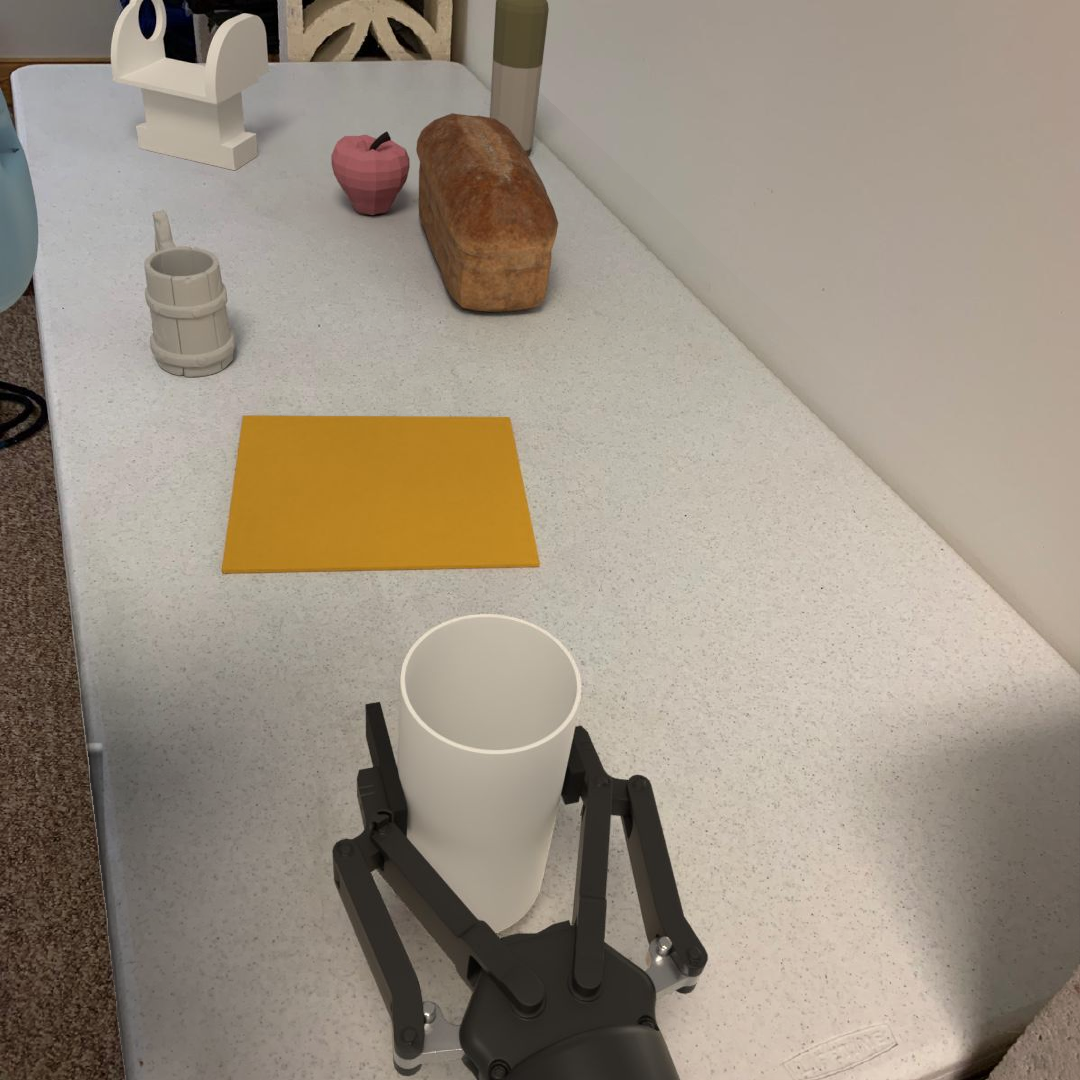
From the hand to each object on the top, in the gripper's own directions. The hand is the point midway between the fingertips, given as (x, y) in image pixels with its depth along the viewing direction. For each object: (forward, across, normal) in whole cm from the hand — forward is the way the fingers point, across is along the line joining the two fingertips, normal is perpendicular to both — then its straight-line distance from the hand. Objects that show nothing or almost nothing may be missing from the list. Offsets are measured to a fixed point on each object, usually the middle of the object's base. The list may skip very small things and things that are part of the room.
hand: (456, 704), depth 53 cm
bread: (+72, +22, -12) cm, 76 cm away
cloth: (+32, +2, -11) cm, 34 cm away
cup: (-5, 0, -9) cm, 10 cm away
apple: (+86, +12, -12) cm, 88 cm away
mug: (+57, -11, -12) cm, 59 cm away
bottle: (+105, +36, -12) cm, 111 cm away
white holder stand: (+107, -7, -12) cm, 108 cm away
